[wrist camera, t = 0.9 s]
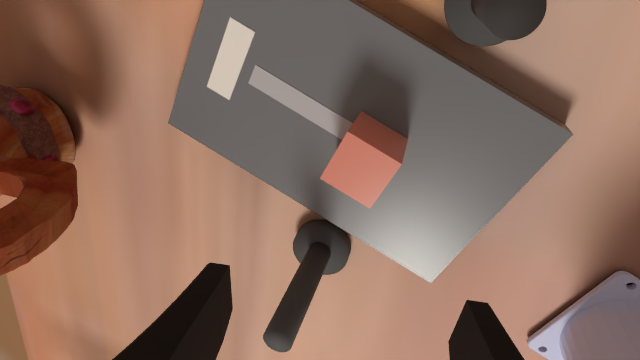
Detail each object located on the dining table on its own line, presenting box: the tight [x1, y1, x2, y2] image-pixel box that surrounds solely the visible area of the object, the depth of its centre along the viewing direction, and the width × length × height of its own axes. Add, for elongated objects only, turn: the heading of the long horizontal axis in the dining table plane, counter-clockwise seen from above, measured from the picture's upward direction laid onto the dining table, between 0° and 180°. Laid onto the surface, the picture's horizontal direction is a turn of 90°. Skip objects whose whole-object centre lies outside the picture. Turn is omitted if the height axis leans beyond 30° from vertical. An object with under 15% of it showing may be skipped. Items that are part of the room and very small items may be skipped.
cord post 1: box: [263, 220, 351, 352], centre depth 24 cm, size 4×4×9 cm
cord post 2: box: [444, 0, 546, 46], centre depth 15 cm, size 4×4×9 cm
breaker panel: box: [168, 0, 573, 283], centre depth 23 cm, size 20×12×2 cm, turn 63°
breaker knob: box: [320, 111, 408, 209], centre depth 21 cm, size 3×3×4 cm
